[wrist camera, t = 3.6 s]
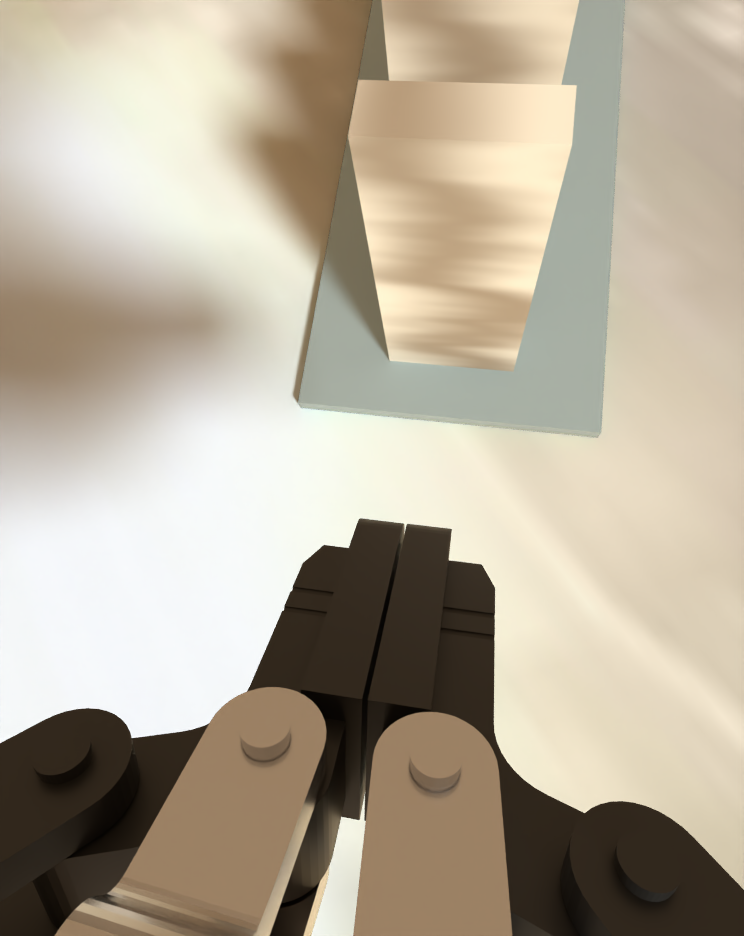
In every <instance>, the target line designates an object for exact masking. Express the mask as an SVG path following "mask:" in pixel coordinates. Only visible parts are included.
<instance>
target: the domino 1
mask: <svg viewBox="0 0 744 936" xmlns="http://www.w3.org/2000/svg"><path fill="white" fill-rule="evenodd" d="M578 4H579V0H382V11H383V22H384V32H385V43H386V53H387V64H388V74H389V81H425V82H465V83H504V84H544V85H561V84H562V79H563V74H564V70H565V65H566V60H567V56H568V51H569V46H570V41H571V37H572V32H573V27H574V23H575V18H576V13H577V8H578Z"/></svg>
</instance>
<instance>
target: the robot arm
mask: <svg viewBox="0 0 744 936" xmlns="http://www.w3.org/2000/svg"><path fill="white" fill-rule="evenodd" d="M451 531H452V529H447V528H438V527H430V526H421V525H413V524H407V526H406V530H405V535H404V524H403V523H394V522H386V521H377V520H369V519H359V521H358V523H357V526H356V529H355V532H354V535H353V538H352V540H351V543H350V546H349V548H343V547H335V546H327V545H323V546H322V547H321V548H320V549H319V550H318V551H317V552H315V553H314V554H313V555H312V556H311V557H310V558H308V559H307V560H306V561H305V562H304V563H303V564H302V567H301V569H300V571H299V574H298V576H297V578H296V580H295V583H294V585H293V590H292V591H291V592H290V594H289V597H288V599H287V601H286V604H285V608H284V611H282V613H281V615H280V618H279V620H278V622H277V625H276V627H275V629H274V632H273V634H272V636H271V639H270V641H269V643H268V646H267V648H266V650H265V653H264V655H263V657H262V659H261V662H260V664H259V666H258V669H257V671H256V673H255V676H254V678H253V680H252V683H251V685H250V687H249V689H248V691H247V692H245V693H243V694H241V695H238V696H237V697H235V698H233V699H232V700H230V701H229V702H228V703H226V704H225V705H224V706H223V707H222V708H221V709H220V710H219V711H218V712H217V713H216V714H215V716H214V717H213V719H212V720H211V722H210V723H209V724H207V725H205V726H202V727H199V728H196V729H193V730H188V731H183V732H177V733H169V734H162V735H154V736H146V737H139V738H131V734H130V731H129V729H128V727H127V725H126V724H125V723H124V722H123V721H122V719H120V718H119V717H117V716H116V715H115V714H112V713H110V712H108V711H104V710H100V709H89V708H86V709H76V710H71V711H66V712H63V713H60V714H57V715H54V716H52V717H50V718H48V719H46V720H44V721H42V722H40V723H38V724H36V725H34V726H32V727H30V728H28V729H27V730H25V731H23V732H21V733H19V734H17V735H15V736H13V737H11V738H10V739H8V740H6V741H4V742H2V743H0V936H311V934H312V931H313V928H314V924H315V921H316V918H317V914H318V911H319V907H320V904H321V901H322V897H323V894H324V891H325V887H326V884H327V880H328V875H329V865H330V862H331V859H332V856H333V851H334V847H335V842H336V838H337V833H338V829H339V824H340V820H341V817H346V818H351V819H357V820H360V815H361V810H362V805H363V799H364V794H365V821H366V825H365V834H364V843H363V852H362V861H361V871H360V880H359V889H358V898H357V907H356V916H355V926H354V935H353V936H744V890H743V889H742V888H741V887H740V885H739V884H738V883H737V882H736V881H735V880H734V879H733V878H732V877H731V876H730V875H729V874H728V873H727V872H726V871H725V870H724V869H723V868H722V867H721V866H720V865H719V864H718V863H717V862H716V860H715V859H714V858H713V857H712V856H711V855H710V854H709V853H708V852H707V851H706V850H705V849H704V848H703V847H702V846H701V845H700V844H699V843H698V842H697V841H696V840H695V839H694V838H693V837H692V836H691V835H690V834H689V833H688V832H687V831H686V830H685V829H684V828H683V827H682V826H680V825H679V824H677V823H676V822H675V821H673V820H672V819H671V818H669V817H667V816H666V815H664V814H662V813H660V812H659V811H656V810H654V809H652V808H649V807H647V806H644V805H640V804H636V803H631V802H623V801H619V802H608V803H604V804H600V805H598V806H595V807H593V808H591V809H590V810H589V811H587V812H586V813H583V812H581V811H579V810H577V809H575V808H573V807H571V806H569V805H567V804H564V803H562V802H560V801H558V800H556V799H554V798H552V797H550V796H548V795H546V794H544V793H543V792H541V791H539V790H537V789H536V788H534V787H533V786H531V785H530V784H529V783H527V782H526V781H525V780H523V779H522V778H521V777H520V776H519V775H518V774H517V773H516V772H515V771H514V770H513V769H512V767H511V766H510V765H509V764H508V763H507V761H506V759H505V758H504V756H503V755H502V753H501V751H500V749H499V746H498V744H497V741H496V737H495V733H494V635H495V619H494V615H495V587H494V585H493V584H492V582H491V580H490V578H489V577H488V575H487V573H486V571H485V570H484V568H483V566H482V565H481V564H473V563H465V562H457V561H449V550H450V541H451Z"/></svg>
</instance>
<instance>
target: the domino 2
mask: <svg viewBox="0 0 744 936" xmlns="http://www.w3.org/2000/svg"><path fill="white" fill-rule="evenodd" d="M576 88H577V85H544V84H504V83H465V82H425V81H385V80H358V85H357V90H356V95H355V101H354V106H353V112H352V117H351V122H350V128H349V133H348V138H349V144H350V149H351V155H352V160H353V165H354V171H355V176H356V182H357V187H358V192H359V198H360V203H361V209H362V214H363V220H364V225H365V230H366V236H367V241H368V247H369V252H370V257H371V263H372V268H373V274H374V279H375V284H376V290H377V295H378V301H379V306H380V311H381V317H382V322H383V328H384V333H385V338H386V344H387V349H388V355H389V360H390V361H398V362H409V363H420V364H432V365H443V366H455V367H466V368H477V369H489V370H500V371H512V372H513V371H514V367H515V363H516V360H517V356H518V352H519V348H520V344H521V340H522V336H523V332H524V329H525V325H526V321H527V317H528V313H529V309H530V305H531V302H532V298H533V294H534V290H535V286H536V282H537V278H538V274H539V271H540V267H541V263H542V259H543V255H544V251H545V247H546V244H547V240H548V236H549V232H550V228H551V224H552V220H553V216H554V213H555V209H556V205H557V201H558V197H559V193H560V189H561V186H562V182H563V178H564V174H565V170H566V166H567V162H568V158H569V155H570V151H571V147H572V140H573V127H574V114H575V101H576Z"/></svg>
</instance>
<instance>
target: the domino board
mask: <svg viewBox="0 0 744 936" xmlns="http://www.w3.org/2000/svg"><path fill="white" fill-rule="evenodd" d="M624 11H625V0H579V4H578V8H577V13H576V18H575V23H574V27H573V32H572V37H571V41H570V46H569V51H568V56H567V60H566V65H565V70H564V74H563V79H562V84H561V85H577V88H576V101H575V114H574V127H573V140H572V147H571V151H570V155H569V158H568V162H567V166H566V170H565V174H564V178H563V182H562V186H561V189H560V193H559V197H558V201H557V205H556V209H555V213H554V216H553V220H552V224H551V228H550V232H549V236H548V240H547V244H546V247H545V251H544V255H543V259H542V263H541V267H540V271H539V274H538V278H537V282H536V286H535V290H534V294H533V298H532V302H531V305H530V309H529V313H528V317H527V321H526V325H525V329H524V332H523V336H522V340H521V344H520V348H519V352H518V356H517V360H516V363H515V367H514V371H513V372H512V371H500V370H489V369H477V368H466V367H455V366H443V365H432V364H420V363H409V362H398V361H390V360H389V355H388V349H387V344H386V338H385V333H384V328H383V322H382V317H381V311H380V306H379V301H378V295H377V290H376V284H375V279H374V274H373V268H372V263H371V257H370V252H369V247H368V241H367V236H366V230H365V225H364V220H363V214H362V209H361V203H360V198H359V192H358V187H357V182H356V176H355V171H354V165H353V160H352V155H351V149H350V144H349V138H348V135H347V140H346V146H345V151H344V157H343V162H342V167H341V173H340V178H339V184H338V189H337V194H336V200H335V205H334V210H333V216H332V221H331V227H330V232H329V237H328V243H327V248H326V254H325V259H324V264H323V270H322V275H321V281H320V286H319V291H318V297H317V302H316V307H315V313H314V318H313V324H312V329H311V334H310V340H309V345H308V351H307V356H306V361H305V367H304V372H303V378H302V383H301V388H300V394H299V399H298V404H299V405H300V407H301V408H308V409H318V410H328V411H338V412H348V413H358V414H368V415H378V416H388V417H398V418H408V419H418V420H428V421H438V422H448V423H458V424H468V425H478V426H488V427H498V428H507V429H517V430H527V431H537V432H547V433H557V434H567V435H577V436H587V437H597V438H598V436H599V435H600V434H601V427H602V409H603V391H604V372H605V354H606V336H607V318H608V300H609V282H610V264H611V246H612V228H613V210H614V192H615V174H616V156H617V138H618V120H619V102H620V83H621V65H622V47H623V29H624ZM358 80H385V81H389V74H388V64H387V53H386V43H385V32H384V22H383V11H382V0H372V6H371V11H370V16H369V22H368V27H367V33H366V38H365V43H364V49H363V54H362V60H361V65H360V70H359V76H358ZM357 85H358V81H357ZM356 90H357V87H356ZM355 95H356V92H355ZM354 101H355V97H354ZM353 106H354V103H353ZM352 112H353V108H352ZM351 117H352V113H351ZM350 122H351V119H350ZM349 128H350V124H349ZM348 133H349V130H348Z"/></svg>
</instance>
